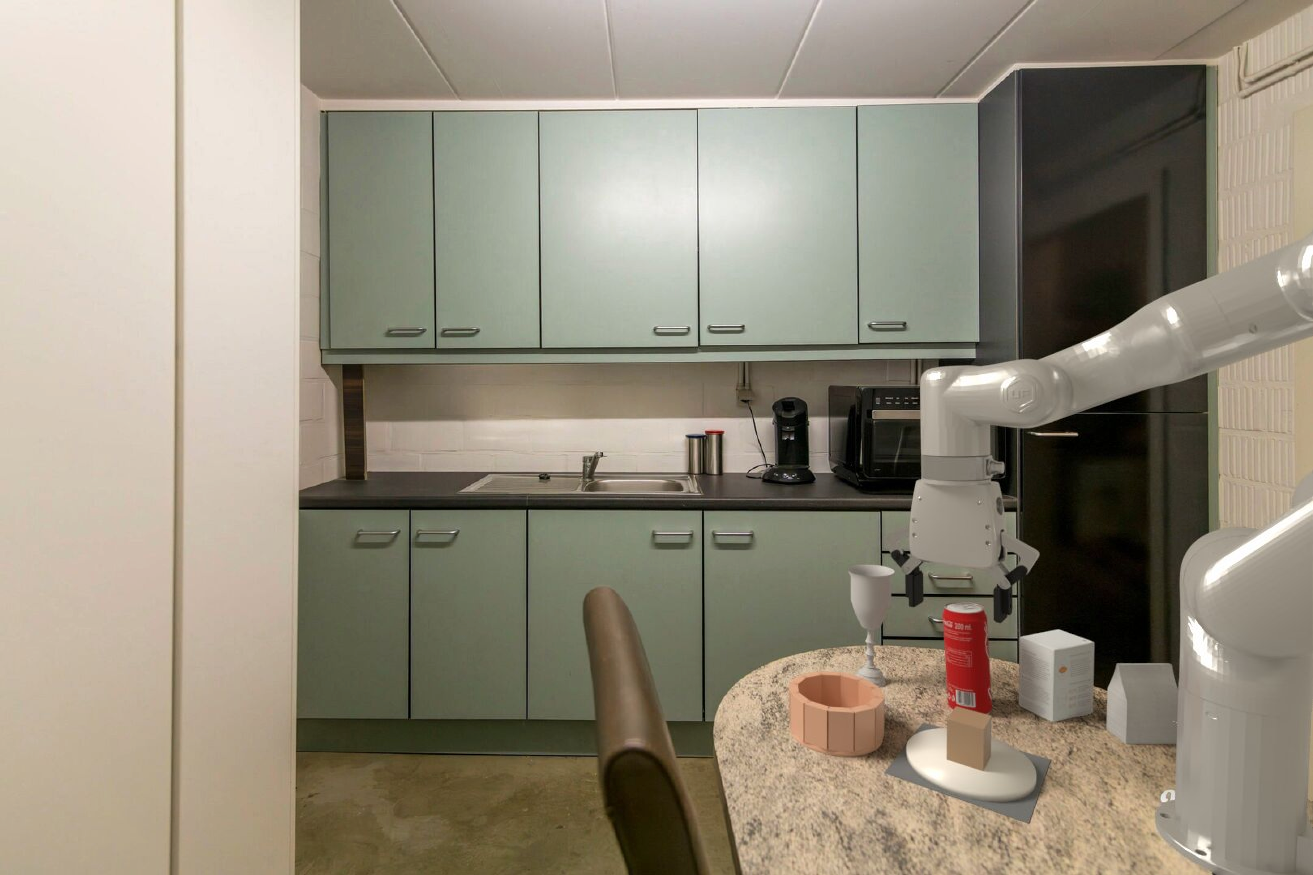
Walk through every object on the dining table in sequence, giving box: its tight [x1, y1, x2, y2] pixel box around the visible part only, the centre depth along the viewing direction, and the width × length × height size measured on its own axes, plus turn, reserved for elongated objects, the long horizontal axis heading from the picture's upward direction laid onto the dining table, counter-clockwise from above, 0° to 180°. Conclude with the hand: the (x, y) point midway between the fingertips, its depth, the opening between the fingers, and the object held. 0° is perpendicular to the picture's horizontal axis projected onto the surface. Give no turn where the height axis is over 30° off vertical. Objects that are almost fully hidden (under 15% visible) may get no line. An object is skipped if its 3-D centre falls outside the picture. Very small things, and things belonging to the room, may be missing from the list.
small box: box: [1018, 629, 1095, 723], centre depth 91 cm, size 8×6×10 cm
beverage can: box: [942, 601, 993, 715], centre depth 92 cm, size 6×6×15 cm
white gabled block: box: [1106, 662, 1178, 745], centre depth 83 cm, size 4×7×10 cm, turn 88°
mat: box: [884, 722, 1051, 824], centre depth 77 cm, size 15×15×1 cm
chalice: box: [847, 564, 895, 689], centre depth 101 cm, size 7×7×18 cm
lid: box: [906, 706, 1036, 802], centre depth 77 cm, size 14×14×6 cm
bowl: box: [788, 670, 885, 758], centre depth 86 cm, size 12×12×6 cm
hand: (956, 611), depth 77 cm, fingers open, 9 cm apart
